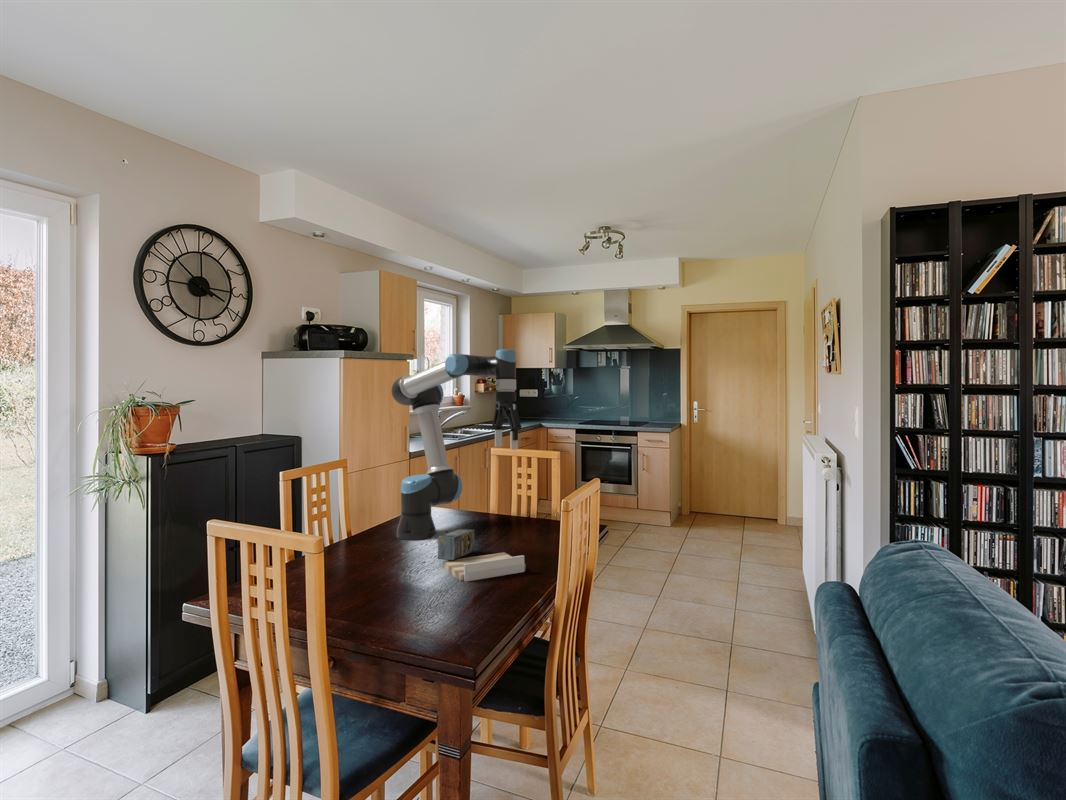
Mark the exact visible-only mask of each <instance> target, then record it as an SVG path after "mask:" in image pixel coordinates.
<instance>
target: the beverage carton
mask: <svg viewBox="0 0 1066 800" xmlns="http://www.w3.org/2000/svg"><path fill="white" fill-rule="evenodd" d="M475 532H476V531H475V529H466V528H465V529H464V528H463V529H462V528H461V529H456V530H453V531H451V532H447V533H444V534H442V535H439V536H438V539H437V560H442V561H448V560H455V559H460V558H461V557H464V556H466V555H469V554H470V553H472V552H474V551H475V534H476V533H475Z"/></svg>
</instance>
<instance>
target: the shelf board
mask: <svg viewBox="0 0 1066 800" xmlns="http://www.w3.org/2000/svg"><path fill="white" fill-rule="evenodd" d="M508 557H513V556H512V555H510V554H509V553H506V552H497V553H491V554H483V555H482V554H481V555H478V556H470V557H469V556H468V557H463V558H457V559H454V560H442V565H443V566H442V568H444V569H445V570H446V571H447V572H449V574H451V575H452V576H453V577H454V578H455V579H457V580H458V581H460V582H463V581H464V564H468V563H475V562H481V561H488V560H495V559H501V558H508ZM526 566H527V565H526V563H524V572H525V571H526V570H527V568H526ZM464 582H465V581H464Z"/></svg>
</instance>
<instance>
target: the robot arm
mask: <svg viewBox="0 0 1066 800" xmlns="http://www.w3.org/2000/svg"><path fill="white" fill-rule="evenodd" d="M516 353H517V352H516V351H515V350H513V349H510V348H509V349H508V348H506V349H504V348H502V349H497V350H496V351H495V355H492V356H491V355H490V356H487V355H486V356H483V355H473V354H472V355H471V354H463V353H452V354H449V355H448V356H447V357H446V358H445V361H442V362H440V363H438V364H435V365H433V366H431V367H428V368H426V369H424V370H422V371H419V372H417V373H414V374H412V375H411V374H406V375H403V376H401V377H399V378H397V379H396V380H395V381H394V382H393V383H392V386H391V395H392V398H393V399H394V400H395V402H396V403H398V404H400V405H402V406H409V407H410V406H411V408H412V412H413V413H414V414H416V415H417V418H418V419H417V420H418V425H419V430H420V435H421V439H422V440H421V441H422V444H423V445H422V446H423V448H424V455H425V459H426V465H427V471H426V473H425V474H424V473H423V474H422V473H421V474H414V475H410V476H407V477H404V478H403V479H402V481H401V483H400V484H401V485H400V500H401V501H400V508H401V509H400V518H399V521H398V522H399V523H398V526H397V529H396V538H397V539H400V540H406V541H418V540H425V539H426V540H427V539H430V538H433V537H434V536H436V534H437V531H436V529H437V528H436V526H435V523H434V519H433V516H432V507H436V506H440V505H447V504H451V503H454V502H457V500H458V499H459V498H460V497H461V495H462V492H463V481H462V478H461V477H459V475H458V474H456V473H455V472H454V468H453V467H452V466H450V465H449V462H448V461H449V460H448V456H447V452H446V446H445V440H444V436H443V431H442V426H441V420H440V416H439V410H440V409H441V404H442V402H443V400H444V390H443V387H442V384H445V383H447V382H450V381H452V380H454V379H457V378H458V379H459V378H460V377H463V376H475V377H483V378H485V377H492V376H493V377H495V383H494V384H495V390H496V392H495V401H496V402H497V403H496V404H495V407H494V408H495V410H494V414H493V415H494V416H493V420H492V424H491V428H493V429H494V447H495V448H502V447H503V424H504V421H505V419H507V422H508V424H509V426H510V430H509V431H510V439H509V441H510V442H509V443H510V446H509V447H510V449H509V450H519V431H520V430H522V425H521V420H520V419H521V418H520V416H519V411H518V404H517V403H514V402H516V401H517V392H516V390H517V376H516V375H517V354H516Z"/></svg>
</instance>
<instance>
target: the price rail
mask: <svg viewBox="0 0 1066 800" xmlns="http://www.w3.org/2000/svg"><path fill="white" fill-rule="evenodd" d="M524 564H525V555H516V556H515V555H514V556H512V557H508V558H501V559H495V560H488V561H481V562H475V563H468V564H464V583H465V582H470V581H478V580H484V579H489V578H495V577H502V576H506V575H507V576H508V575H513V574H519V573H524V572H525V571H524Z"/></svg>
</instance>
